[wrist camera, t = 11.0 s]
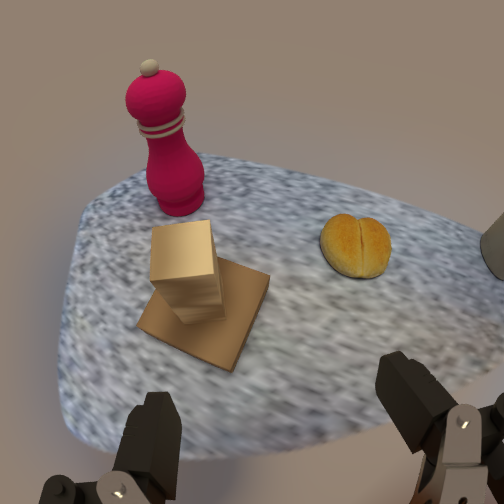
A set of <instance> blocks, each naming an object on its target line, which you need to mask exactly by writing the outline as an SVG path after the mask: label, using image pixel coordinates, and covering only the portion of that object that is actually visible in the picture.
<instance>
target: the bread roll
mask: <svg viewBox="0 0 504 504" xmlns="http://www.w3.org/2000/svg"><path fill="white" fill-rule="evenodd" d="M320 245H321V249H322V252H323V254H324V256H325V258H326V259H327V261H328V262H329V263H330V264H331V266H332V267H333V268H334V269H335V270H337V271H338V272H340V273H341V274H344V275H346V276H349V277H362V278H373V277H377V276H378V275H381V274H382V273H384V271H385V270H386V267H387V265H388V261H389V258H390V255H391V250H392V247H391V238H390V235H389V234H388V231H387V230H386V228H385V227H384V226H383V225H382V224H381V223H379V222H378V221H377V220H375V219H373V218H361V219H359V220H357V219H356V218H354V217H353V216H351V215H349V214H338V215H336V216H334V217H332V218H331V219H330V220H329V221H328V222H327V223H326V225H325V226H324V228H323V230H322V232H321V236H320Z"/></svg>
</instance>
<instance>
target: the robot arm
mask: <svg viewBox="0 0 504 504" xmlns="http://www.w3.org/2000/svg"><path fill="white" fill-rule="evenodd" d="M481 250H482V254H483V257H484V259H485V262H486V264H487V265H488V267H489V269H490V270H491V271H492V273H493V274H494V275H495V276H497V277H498V278H499V279H501V280H504V213H503V214H502V215H501V216H500V217H499V218H498V219H497V220H496V222H494V224H493V225H492V226H491V227H490V228H489V229H488V230H487V231H486V232H485V233H484V234H483V235H482V237H481ZM375 390H376V394H377V396H378V398H379V400H380V401H381V403H382V405H383V406H384V408H385V409H386V411H387V413H388V414H389V416H390V418H391V419H392V421H393V422H394V424H395V426H396V427H397V429H398V430H399V432H400V434H401V436H402V437H403V439H404V440H405V442H406V444H407V445H408V447H409V449H410V450H411V452H412V454H414V453H416V452H418V451H420V450H423V451H424V453H425V454H424V456H423V460H422V464H421V469H420V473H419V477H418V481H417V484H416V488H415V491H414V495H413V497H412V499H411V501H410V503H409V504H484V500H485V494H486V486H487V485H488V487H489V488H490V490H491V492H492V494H493V496H494V498H495V500H496V501H497V503H498V504H504V443H503V442H502V440H503V439H504V393H502V394H501V395H500V396H499V397H498V398H497V400H496V402H495V404H494V405H491V406H487V407H483V408H480V409H476V408H475V407H473V406H471V405H468V404H461V405H459V404H458V403H457V402H456V401H455V400H454V399H453V398H452V396H451V395H450V394H449V393H448V392H447V391H446V389H445V388H444V387H443V386H442V385H441V384H440V383H439V382H438V380H437V381H436V378H435V377H434V376H433V375H432V374H430V371H429V370H428V369H427V368H426V367H425V366H424V365H423V364H421V363H420V362H418V361H416V360H414V359H410V360H409V359H408V358H407V357H406V356H405V355H404V354H403V353H402V352H401V351H396V352H393V353H390V354H387V355H384V356H382V357H381V358H380V362H379V368H378V373H377V378H376V382H375ZM125 426H126V428H124V432H123V436H122V438H121V442H120V445H119V449H118V452H117V456H116V460H115V463H114V467H113V469H112V471H111V472H108V473H106V474H104V475H103V476H102V477H101V478H100V479H99V480H98V481H96V482H85V483H74V482H73V481H72V480H71V479H69V478H68V477H66V476H64V475H55V476H52V477H50V478H49V479H48V480H47V481H46V482H45V484H44V487H43V490H42V494H41V497H40V501H39V504H165V500H175V497H176V485H177V474H178V473H177V472H178V463H179V453H180V443H181V434H182V424H181V419H180V416H179V414H178V412H177V410H176V407H175V405H174V403H173V401H172V398H171V396H170V394H169V393H168V392H148V393H147V395H146V398H145V401H144V405H136V407H135V408H134V409H133V410H132V411H131V413H130V414H129V415H128V419H127V422H126V425H125Z"/></svg>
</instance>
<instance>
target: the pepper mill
mask: <svg viewBox="0 0 504 504" xmlns="http://www.w3.org/2000/svg"><path fill="white" fill-rule="evenodd" d="M140 72H141V74H142V75H141V76H139V77H138V78H136V79H135V80H134V81H133V82H132V83H131V85H130V86H129V88H128V90H127V93H126V107H127V109H128V112H129V113H130V114H131V115H132V117H134V118H135V119H137V126H138V127H139V132H140V134H141V135H142V136H143V137H146V139H147V142H148V147H149V157H148V163H147V170H146V178H147V183H148V187H149V190H150V191H151V193H152V194H153V195H154V196H155V197H157V200H158V202H159V205H160V207H161V209H162V210H163V211H164V212H165V213H166V214H168V215H171V216H185V215H188V214H191V213H192V212H194V211H195V210H197V209H198V208H199V207H200V206H201V204H202V202H203V200H204V189H203V184H202V183H203V181H204V168H203V165H202V162H201V160H200V159H199V157H198V156H197V154H196V153H195V152H194V151H193V150H192V149H191V148H190V147H189V145H188V144H187V142H186V140H185V137H184V134H183V129H182V128H183V127H182V126H183V125H184V123H185V116H184V110H183V108H182V105H183V103H184V101H185V97H186V89H185V86H184V83H183V81H182V80H181V78H180V77H179V76H178V75H176V74H174V73H173V72H170V71H165V70H159V65H158V63H157V62H156V61H155V60H152V59H149V60H146V61H144V62H143V63H142V64H141V67H140Z"/></svg>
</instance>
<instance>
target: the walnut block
mask: <svg viewBox="0 0 504 504" xmlns="http://www.w3.org/2000/svg"><path fill="white" fill-rule="evenodd" d="M217 259H218V263H219V268H220V273H221V277H222V283H223V292H224V302H225V310H226V319H227V320H222V321H212V322H203V323H193V324H184V323H183V322H182V321H181V320H180V318H179V317H178V316H177V315H176V314H175V312H174V311H173V310H172V309H171V307H170V306H169V305H168V304H167V302H166V301H165V300H164V299H163V297H162V296H161V295H160V293H159V292H158V291H157V290H156V289H155V291H154V293H153V295H152V297H151V299H150V300H149V302H148V304H147V306H146V308H145V310H144V312H143V314H142V315H141V317H140V319H139V321H138V323H137V325H136V326H137V327H138V328H140V329H141V330H143V331H144V332H145V333H147V334H149V335H151V336H153V337H155V338H157V339H158V340H160V341H162V342H164V343H166V344H168V345H170V346H172V347H174V348H177V349H179V350H181V351H183V352H185V353H187V354H189V355H191V356H193V357H196V358H198V359H200V360H202V361H205V362H207V363H209V364H211V365H214V366H216V367H218V368H221V369H223V370H226V371H228V372H230V373H233V371H234V368H235V366H236V364H237V361H238V359H239V357H240V354H241V352H242V350H243V347H244V345H245V343H246V340H247V338H248V336H249V333H250V331H251V328H252V326H253V324H254V321H255V319H256V316H257V314H258V312H259V309H260V307H261V304H262V302H263V299H264V297H265V295H266V292H267V290H268V287H269V281H270V275H267V274H264V273H262V272H259V271H256V270H253V269H250V268H248V267H245V266H242V265H239V264H237V263H234V262H231V261H228V260H226V259H223V258H220V257H217Z"/></svg>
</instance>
